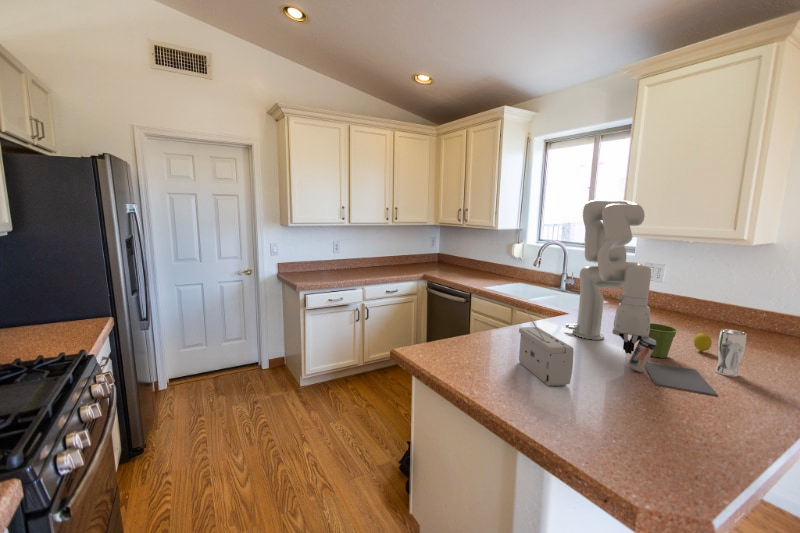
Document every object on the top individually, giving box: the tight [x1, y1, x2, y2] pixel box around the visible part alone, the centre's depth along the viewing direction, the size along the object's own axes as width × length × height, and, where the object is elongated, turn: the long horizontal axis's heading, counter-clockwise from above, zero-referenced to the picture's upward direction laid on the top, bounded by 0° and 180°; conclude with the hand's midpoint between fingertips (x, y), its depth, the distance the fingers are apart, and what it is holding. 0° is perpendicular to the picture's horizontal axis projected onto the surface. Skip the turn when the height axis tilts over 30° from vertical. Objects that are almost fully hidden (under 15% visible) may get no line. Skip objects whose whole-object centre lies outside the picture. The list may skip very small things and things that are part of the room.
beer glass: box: [714, 328, 747, 378], centre depth 125 cm, size 7×7×15 cm
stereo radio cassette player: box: [518, 309, 575, 387], centre depth 120 cm, size 21×8×20 cm, turn 9°
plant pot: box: [649, 322, 679, 359], centre depth 141 cm, size 12×12×11 cm
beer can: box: [627, 337, 656, 373], centre depth 125 cm, size 5×5×12 cm
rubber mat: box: [644, 361, 719, 397], centre depth 121 cm, size 16×20×1 cm
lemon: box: [693, 332, 712, 353], centre depth 146 cm, size 6×6×8 cm
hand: (627, 352), depth 126 cm, fingers closed
